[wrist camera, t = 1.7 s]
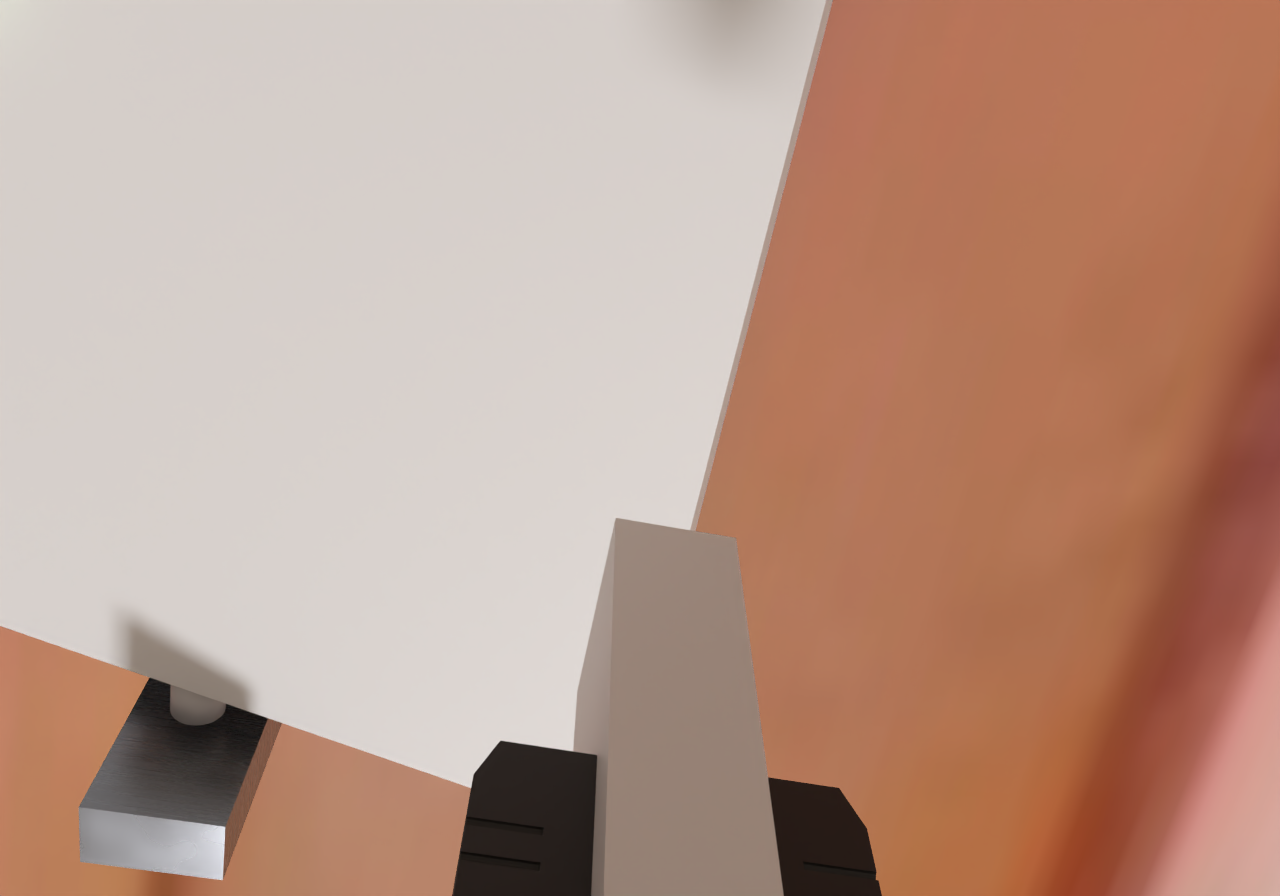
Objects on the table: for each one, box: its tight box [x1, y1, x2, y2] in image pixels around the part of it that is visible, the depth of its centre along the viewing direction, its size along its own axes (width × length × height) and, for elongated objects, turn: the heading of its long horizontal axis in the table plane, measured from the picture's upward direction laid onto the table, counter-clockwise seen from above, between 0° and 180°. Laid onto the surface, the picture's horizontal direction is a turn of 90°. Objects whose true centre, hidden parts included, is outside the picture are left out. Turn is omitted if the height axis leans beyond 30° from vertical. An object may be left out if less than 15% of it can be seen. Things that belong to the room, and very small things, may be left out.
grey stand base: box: [79, 678, 282, 880], centre depth 24 cm, size 22×26×10 cm
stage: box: [0, 0, 833, 788], centre depth 22 cm, size 20×22×2 cm
